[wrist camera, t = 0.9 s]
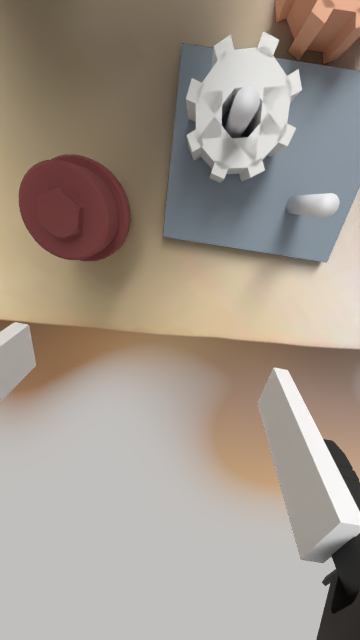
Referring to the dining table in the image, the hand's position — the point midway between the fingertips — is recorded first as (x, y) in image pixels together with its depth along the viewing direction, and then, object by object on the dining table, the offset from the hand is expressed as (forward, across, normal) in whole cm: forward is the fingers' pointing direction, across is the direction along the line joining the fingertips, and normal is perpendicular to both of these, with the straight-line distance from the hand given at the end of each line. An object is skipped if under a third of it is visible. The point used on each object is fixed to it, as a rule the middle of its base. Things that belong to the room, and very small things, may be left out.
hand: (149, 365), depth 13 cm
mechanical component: (+24, -11, +5) cm, 27 cm away
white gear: (+22, +3, +15) cm, 27 cm away
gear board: (+24, +8, +12) cm, 28 cm away
